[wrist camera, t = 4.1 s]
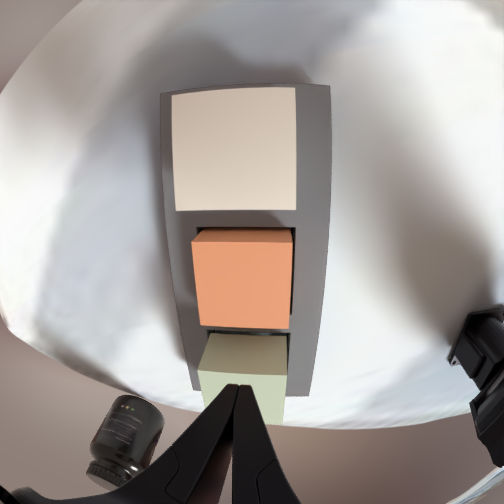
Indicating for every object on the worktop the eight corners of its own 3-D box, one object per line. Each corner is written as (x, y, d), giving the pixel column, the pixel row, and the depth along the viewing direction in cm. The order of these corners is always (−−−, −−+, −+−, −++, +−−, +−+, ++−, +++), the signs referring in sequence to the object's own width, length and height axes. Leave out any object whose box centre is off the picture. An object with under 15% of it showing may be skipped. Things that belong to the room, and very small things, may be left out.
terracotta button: (289, 224, 18) (292, 242, 14) (287, 297, 20) (288, 328, 16) (208, 223, 19) (191, 241, 15) (213, 294, 20) (200, 325, 17)
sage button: (286, 336, 19) (287, 375, 15) (282, 386, 21) (282, 424, 17) (210, 332, 19) (197, 370, 16) (217, 383, 21) (207, 419, 17)
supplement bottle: (170, 431, 29) (144, 505, 18) (124, 418, 29) (91, 484, 18) (160, 400, 26) (124, 485, 15) (110, 386, 27) (66, 459, 16)
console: (323, 94, 15) (329, 85, 13) (306, 376, 23) (308, 396, 21) (174, 100, 16) (160, 93, 14) (199, 371, 24) (193, 390, 22)
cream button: (290, 104, 14) (294, 87, 10) (291, 196, 16) (296, 210, 12) (196, 108, 14) (171, 95, 10) (198, 197, 16) (175, 210, 12)
